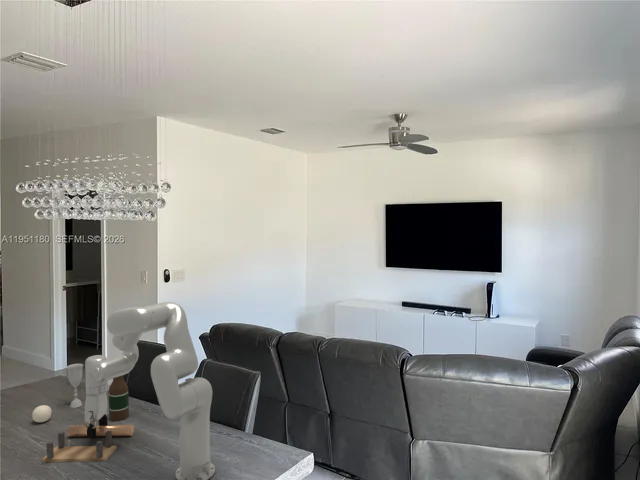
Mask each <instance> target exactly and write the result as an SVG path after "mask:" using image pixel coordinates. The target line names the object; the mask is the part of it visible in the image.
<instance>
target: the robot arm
mask: <svg viewBox="0 0 640 480" xmlns="http://www.w3.org/2000/svg"><path fill="white" fill-rule="evenodd" d="M163 328H165V330H164V334H163V343H164V347H165V348H166V349H165V351H166V352H163V353H161V354H159V355H157V356H155V358H153V360H152V362H151V364H150V377H151V381H152V384H153V387H154V390H155V393H156V398H157V401H158V404H159V407H160V409H161V411H162V413H163V414H164V416H165V417H166V418H167V419H170V420H177V419H180V420H179V459H180V460H179V462H180V464H179V465H180V466H178V468H177V469H176V471H175V479H176V480H209V479H211V478H212V477H213V475H214V474H215V472H216V467H215V464H213V463H212V462H211V439H210V438H211V436H210V435H211V432H210V431H211V430H210V429H211V425H210V424H211V422H210V420H211V417H210V416H211V406H212V400H213V387H212V384H211V383H210V381H209V380H207V379H206V378H204V377H193V379H190V380H188V381H185V380H184V381H183V382H181V383H179V381H180V380H181V379H183V378H186V377H188V376H191V375H192V374H195V373H196V372H197V370H198V368H199V360H198V355H197V352H196V350H195V346H194V343H193V340H192V337H191V334H190V331H189V325H188V317H187V314H186V312H185V310H184V308H183V306H181V305H180V304H179V303H176V302H173V301H167V302H159V303H154V304H149V305H144V306H132V307H126V308H121V309H117V310H114V311H113V312H111V313H110V314H109V315H108V318H107V321H106V329H107V330H108V332H109V333H110V334H112V342H111V343H112V344H113V346H114V348H116V349H118V350H120V351H122V353H120V355H116V356H114V357H110V358H107V356H105V355H102V354H95V355H91V356H88V357H87V358H86V359H85V361H84V363H85V364H84V365H85V366H84V367H85V395H86V396H85V400H84V401H85V402H84V423H85V425H86V429H87V436H86V438H87V440H88V439H89V440H90V439H91V440H93V439H96V438H97V436H96V428H95V425H97V422H98V425H109V424H108V416H109V398H108V392H109V386H108V385H109V384H108V383H109V381H110V380H113V378H116V377H119V376H122V375H123V376H125V375H126V374H129V373H130V372H131V371H132V370H133V369H134V367H135V366H136V363H137V362H138V360H139V356H140V354H139V347H138V345H137V344H138V343H139V340H140V338H141V337H142V335H143V334H144V333H149V332H151V331H155V330H159V329H160V330H161V329H163ZM178 380H179V381H178Z"/></svg>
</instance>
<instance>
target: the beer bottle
mask: <svg viewBox="0 0 640 480" xmlns="http://www.w3.org/2000/svg"><path fill="white" fill-rule="evenodd" d="M129 398H130V397H129V387H128V384H127V382H126V381H125V380H124V375H122V376H119V377H116V378H113V379H112V382H111V383H110V384H109V386H108V418H109V420H110V421H111V422H120V421H124V420H126V419H127V418H129V416H130V415H129V414H130V413H129V412H130V409H129V407H130V406H129V405H130V402H129V401H130V400H129Z"/></svg>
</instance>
